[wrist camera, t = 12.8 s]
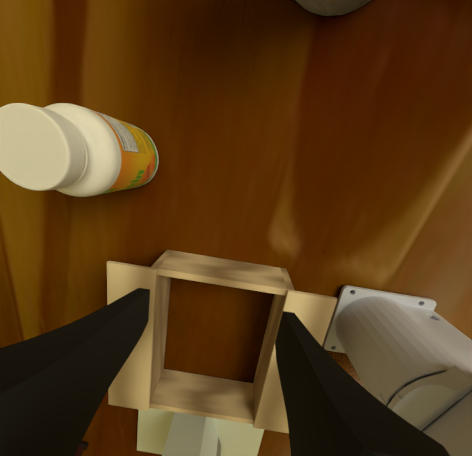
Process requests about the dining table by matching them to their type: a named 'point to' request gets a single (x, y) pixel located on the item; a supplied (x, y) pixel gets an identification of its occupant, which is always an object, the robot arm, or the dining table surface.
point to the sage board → (230, 432)
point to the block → (192, 436)
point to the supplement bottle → (73, 150)
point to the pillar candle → (331, 6)
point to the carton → (200, 386)
